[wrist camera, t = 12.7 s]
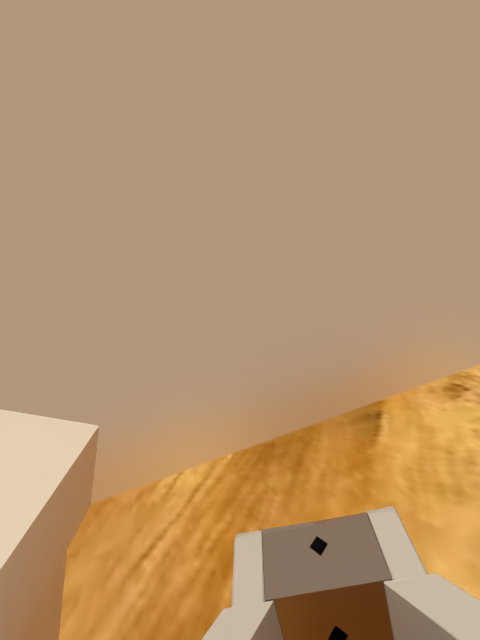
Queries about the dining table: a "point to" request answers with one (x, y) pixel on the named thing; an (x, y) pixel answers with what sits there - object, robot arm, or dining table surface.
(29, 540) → the lever
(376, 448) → the dining table surface
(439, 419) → the dining table surface
